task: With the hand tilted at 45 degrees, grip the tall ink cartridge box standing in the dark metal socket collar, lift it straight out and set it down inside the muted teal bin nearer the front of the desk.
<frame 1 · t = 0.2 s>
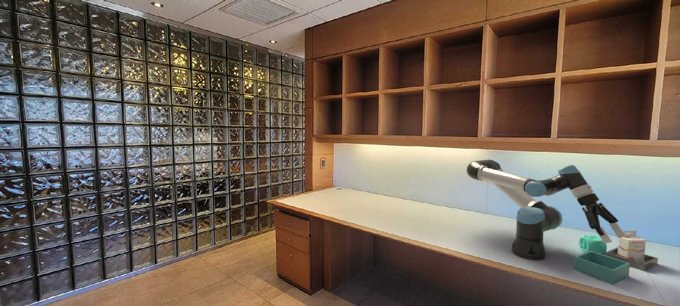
hand: (615, 240, 123), 16 cm above the table, tool tilted 35°, fingers open, 13 cm apart
teal bin: (600, 272, 125), on the table
socket collar: (630, 261, 135), on the table
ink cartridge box: (630, 261, 135), resting in socket collar
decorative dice: (591, 252, 145), on the table
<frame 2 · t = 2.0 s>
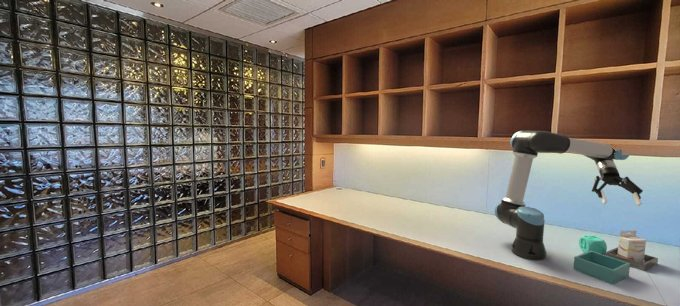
hand: (621, 203, 142), 26 cm above the table, tool tilted 45°, fingers open, 13 cm apart
nothing on the table moved.
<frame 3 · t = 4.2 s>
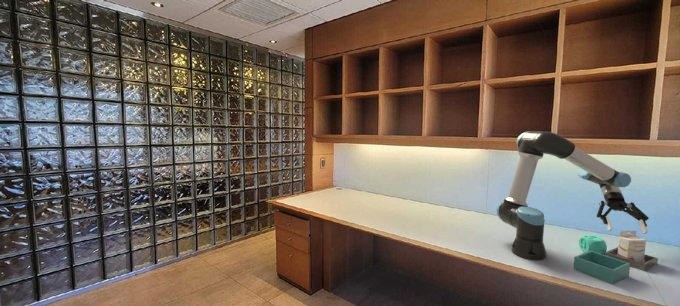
hand: (627, 231, 139), 13 cm above the table, tool tilted 45°, fingers open, 13 cm apart
nothing on the table moved.
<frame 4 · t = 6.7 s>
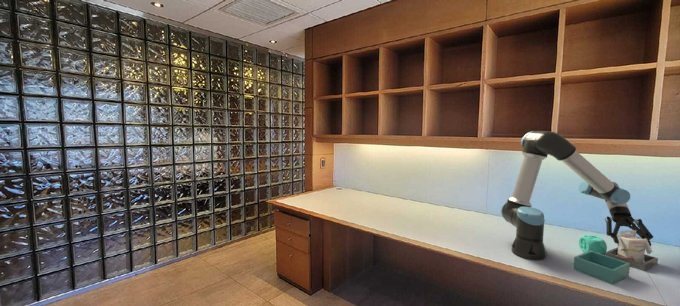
hand: (635, 251, 131), 6 cm above the table, tool tilted 45°, fingers closed on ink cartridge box, 9 cm apart
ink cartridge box: (630, 261, 135), resting in socket collar, touching gripper
everything else where it was.
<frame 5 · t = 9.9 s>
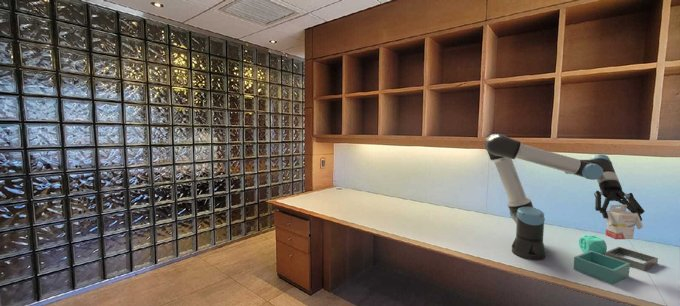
hand: (625, 226, 122), 22 cm above the table, tool tilted 45°, fingers closed on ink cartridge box, 9 cm apart
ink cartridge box: (619, 237, 126), point 15 cm above the table, touching gripper
everything else where it was.
when the fingers open (9 cm above the table, at t = 13.4 s): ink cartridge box drops 1 cm, resting on teal bin.
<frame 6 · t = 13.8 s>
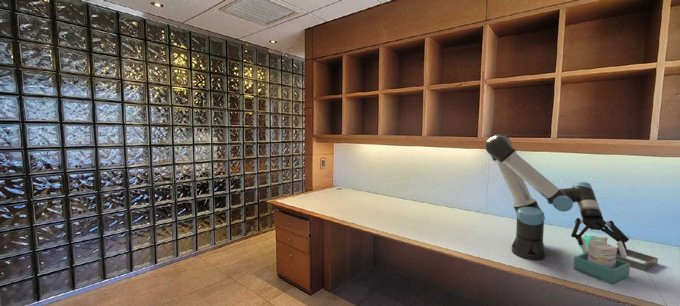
hand: (604, 254, 122), 10 cm above the table, tool tilted 45°, fingers open, 13 cm apart
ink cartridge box: (600, 271, 125), point 1 cm above the table, touching teal bin
everything else where it was.
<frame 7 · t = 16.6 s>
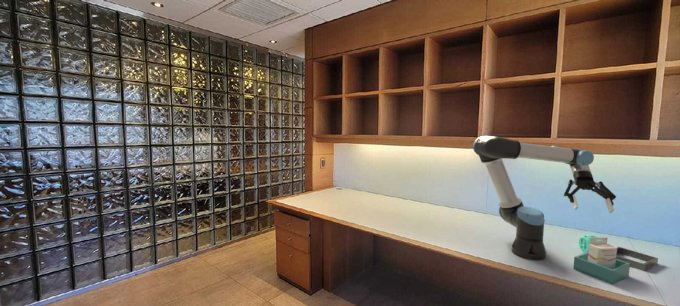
hand: (593, 209, 134), 26 cm above the table, tool tilted 45°, fingers open, 13 cm apart
nothing on the table moved.
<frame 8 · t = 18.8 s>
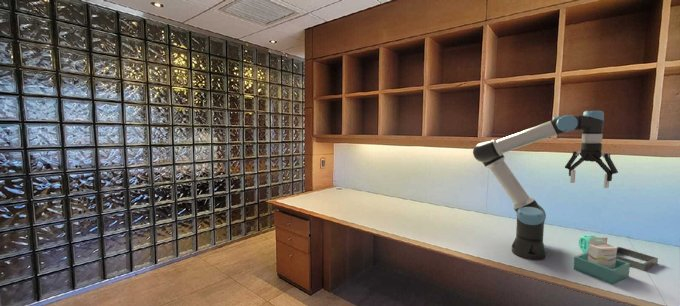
hand: (588, 185, 138), 37 cm above the table, tool pointing down, fingers open, 13 cm apart
nothing on the table moved.
at the end: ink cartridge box inside the target area on the teal bin (0.1 cm from its centre), point 0.8 cm above the teal bin's base; the gripper is holding nothing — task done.
